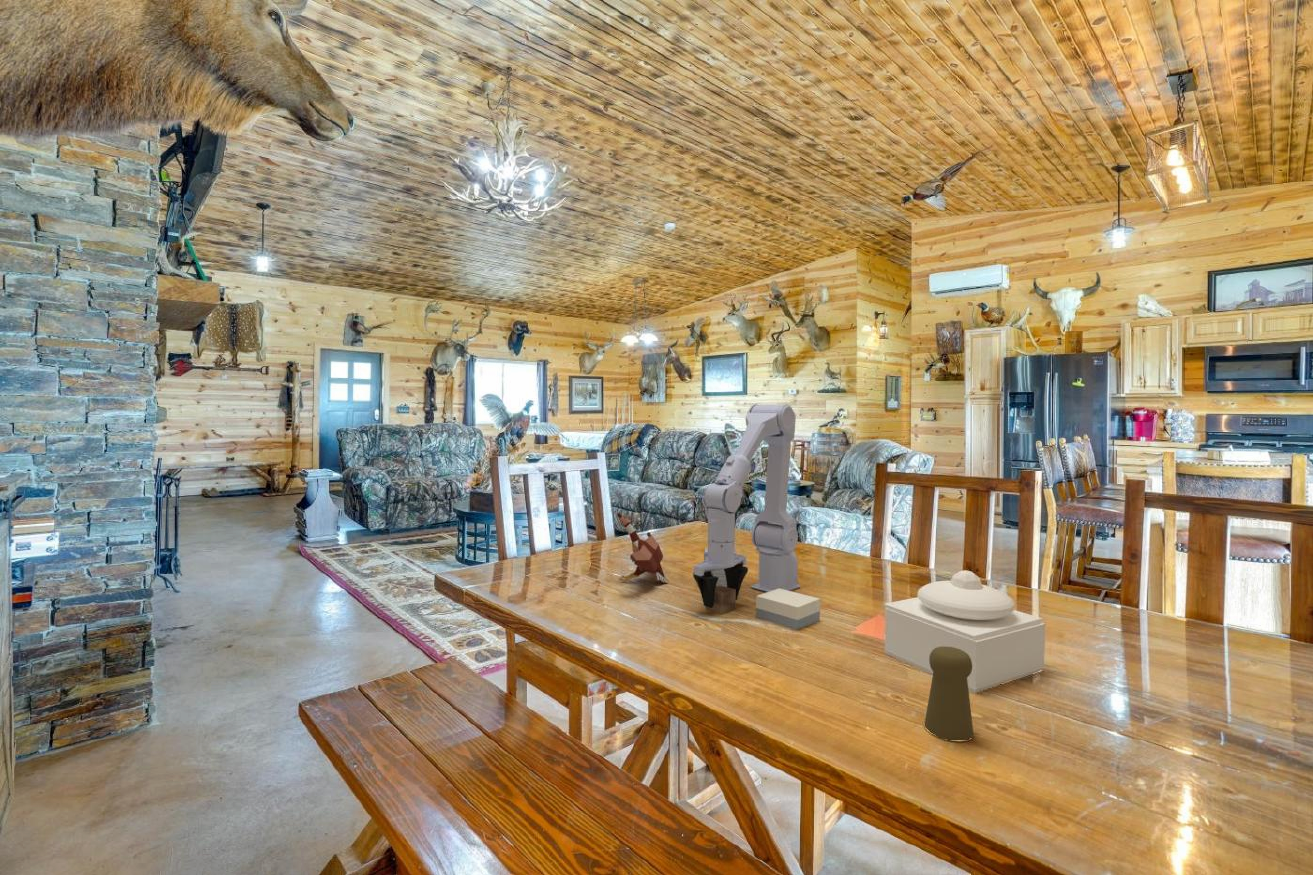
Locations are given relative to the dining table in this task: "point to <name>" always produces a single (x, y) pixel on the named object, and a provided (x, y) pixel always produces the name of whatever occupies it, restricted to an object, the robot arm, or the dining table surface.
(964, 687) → the dark olive pawn
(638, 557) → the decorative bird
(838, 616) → the dining table surface
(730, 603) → the walnut cube
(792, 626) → the tower base block
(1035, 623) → the white saucer-topped box
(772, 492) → the robot arm
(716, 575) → the gray wood grain block
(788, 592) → the tower top block
